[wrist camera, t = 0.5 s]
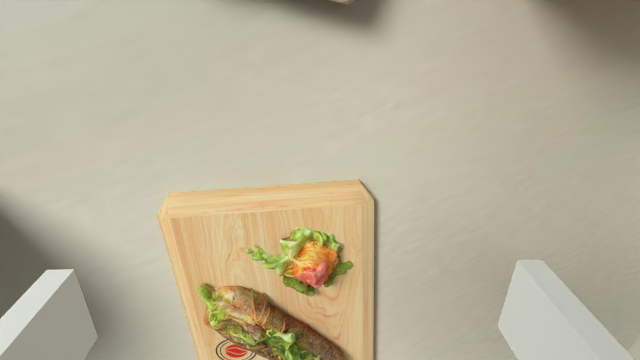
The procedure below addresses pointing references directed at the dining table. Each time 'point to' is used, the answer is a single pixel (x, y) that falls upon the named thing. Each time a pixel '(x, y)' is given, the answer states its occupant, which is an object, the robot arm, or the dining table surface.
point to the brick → (343, 1)
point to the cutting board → (275, 270)
